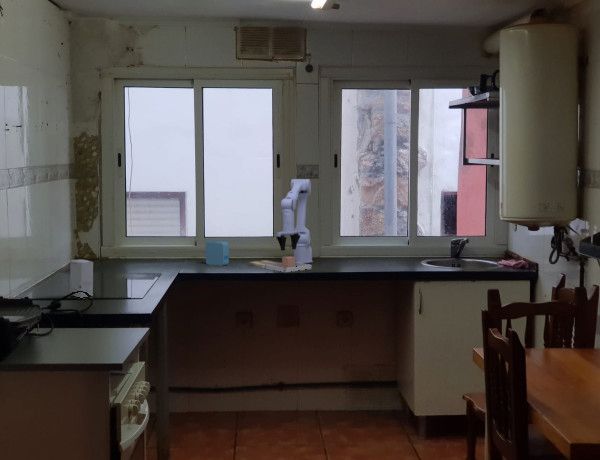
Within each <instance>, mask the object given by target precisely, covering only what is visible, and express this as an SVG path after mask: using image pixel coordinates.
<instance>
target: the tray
mask: <svg viewBox="0 0 600 460" xmlns="http://www.w3.org/2000/svg"><path fill="white" fill-rule="evenodd" d="M296 266H297V267H296ZM264 269H265V270H270V271H274V270H275V271H274V272H280V271H281V272H280V273H290V272H291V271H292V272H299V271H298V270H300V271H306V270H305V269H307V270H312V269H313V264H309V263H298V262H295V267H289V268H282V262H280V263H276V264H268V265H265V268H264ZM292 272H291V273H292Z"/></svg>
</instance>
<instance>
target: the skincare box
mask: <svg viewBox="0 0 600 460" xmlns="http://www.w3.org/2000/svg"><path fill="white" fill-rule="evenodd" d="M69 267H70V269H69V277H70V278H69V294H70V293H72V292H77V291H83V292H87V293H88V294H89V295H91V296H93V297H94V261H91V260H87V259H72V260H70V262H69ZM83 292H78V293H75V294H73V295H74V296H76V297H80V298H83V297H88V296H87V295H86V294H85V293H83ZM76 297H75V298H76ZM80 298H79V299H80ZM83 299H84V298H83Z"/></svg>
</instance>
